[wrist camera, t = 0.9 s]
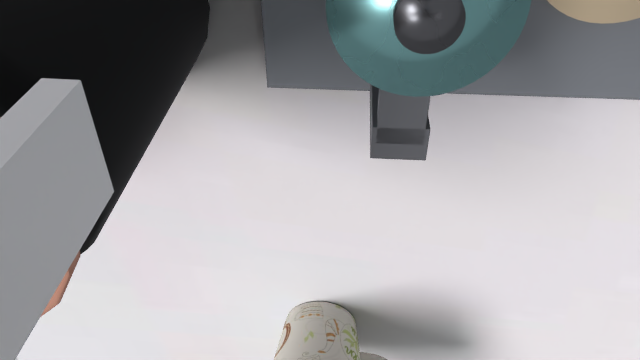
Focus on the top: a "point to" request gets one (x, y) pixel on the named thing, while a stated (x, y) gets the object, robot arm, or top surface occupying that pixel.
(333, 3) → the teal rounded piece
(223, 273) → the top surface
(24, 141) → the robot arm
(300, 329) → the mug
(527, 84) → the grey tray with posts
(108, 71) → the coffee jar
